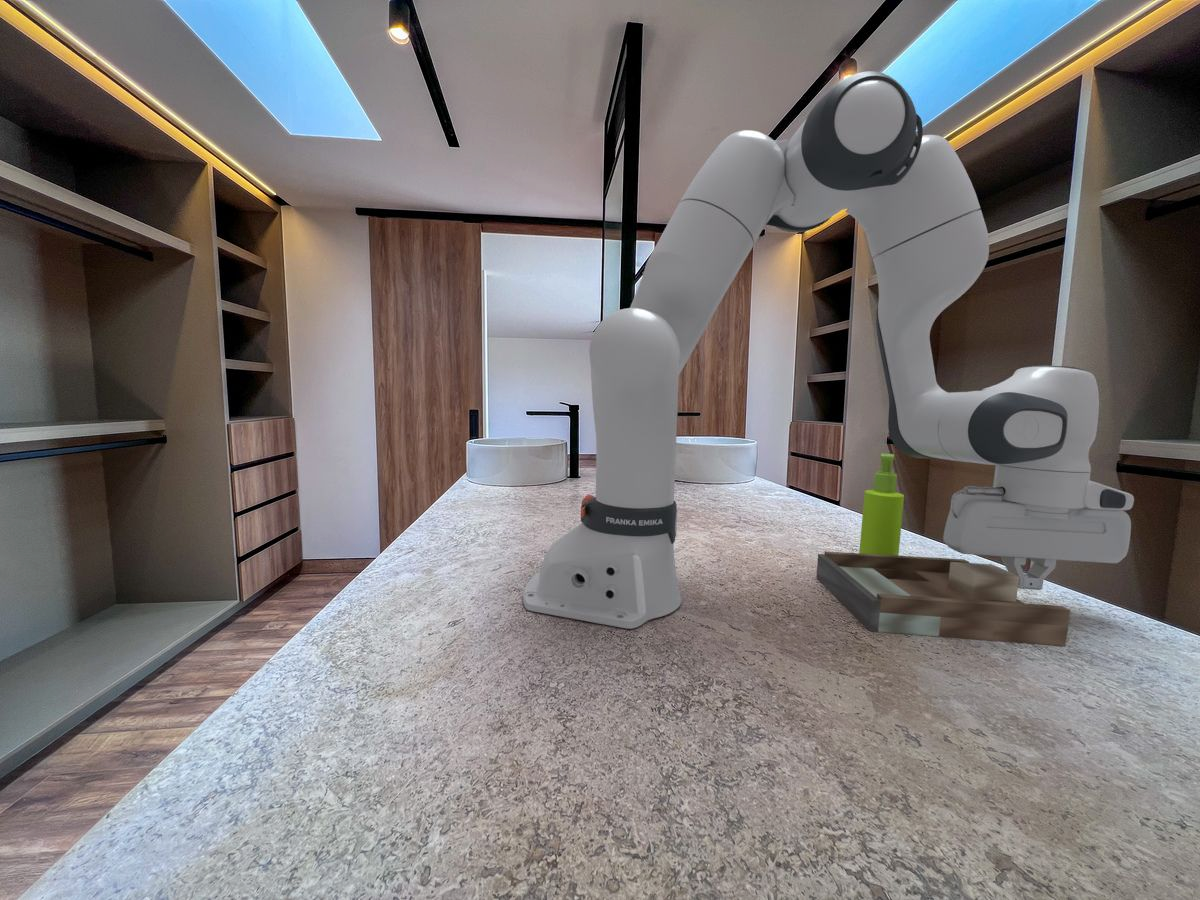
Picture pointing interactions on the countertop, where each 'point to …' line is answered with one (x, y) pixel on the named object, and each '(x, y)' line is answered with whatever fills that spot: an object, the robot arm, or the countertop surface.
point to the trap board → (931, 601)
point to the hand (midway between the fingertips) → (1024, 587)
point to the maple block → (983, 581)
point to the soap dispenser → (882, 513)
